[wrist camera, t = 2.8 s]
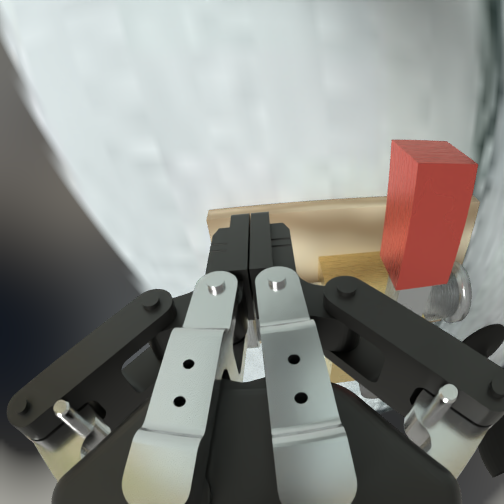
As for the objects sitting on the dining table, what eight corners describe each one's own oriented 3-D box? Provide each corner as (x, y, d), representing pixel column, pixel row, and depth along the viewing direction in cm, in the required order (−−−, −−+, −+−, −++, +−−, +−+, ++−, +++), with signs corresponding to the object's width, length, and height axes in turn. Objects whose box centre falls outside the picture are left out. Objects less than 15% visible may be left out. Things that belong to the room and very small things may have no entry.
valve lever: (391, 367, 22) (399, 396, 20) (352, 374, 22) (358, 403, 20) (450, 141, 12) (481, 164, 10) (387, 139, 12) (413, 163, 10)
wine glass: (450, 342, 37) (496, 473, 21) (510, 313, 34) (565, 431, 18) (447, 375, 42) (480, 484, 26) (499, 350, 39) (540, 452, 23)
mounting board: (209, 210, 25) (206, 220, 24) (471, 193, 24) (479, 202, 22) (235, 333, 34) (235, 344, 33) (436, 311, 33) (440, 320, 31)
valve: (240, 263, 26) (236, 342, 20) (452, 244, 25) (494, 307, 19) (249, 316, 30) (248, 390, 24) (436, 295, 29) (466, 357, 23)
